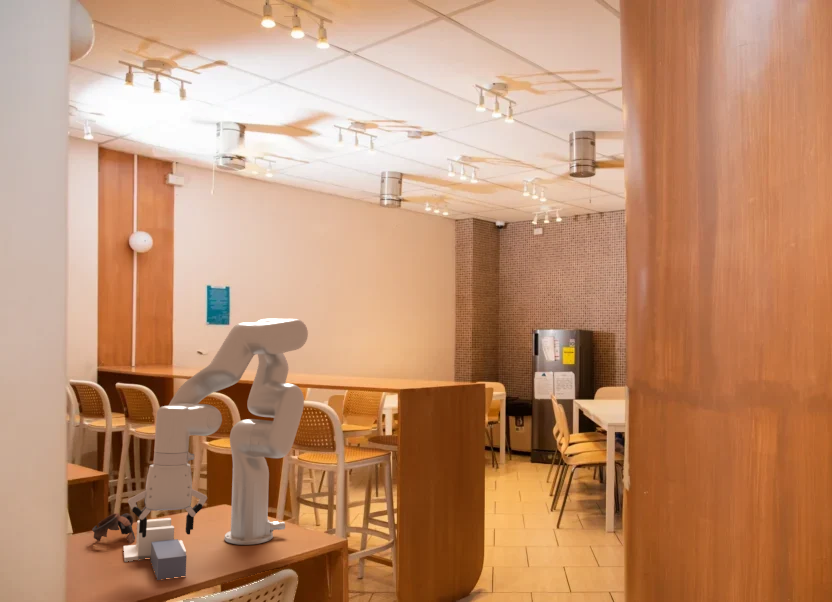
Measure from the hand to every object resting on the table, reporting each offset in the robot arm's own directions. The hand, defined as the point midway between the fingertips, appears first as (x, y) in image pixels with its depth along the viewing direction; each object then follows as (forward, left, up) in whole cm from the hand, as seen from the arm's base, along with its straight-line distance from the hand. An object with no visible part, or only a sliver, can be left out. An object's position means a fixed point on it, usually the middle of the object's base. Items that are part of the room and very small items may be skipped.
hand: (166, 534), depth 161 cm
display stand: (+1, -15, -8) cm, 17 cm away
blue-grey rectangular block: (-1, -1, -8) cm, 8 cm away
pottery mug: (+10, -29, -8) cm, 32 cm away
